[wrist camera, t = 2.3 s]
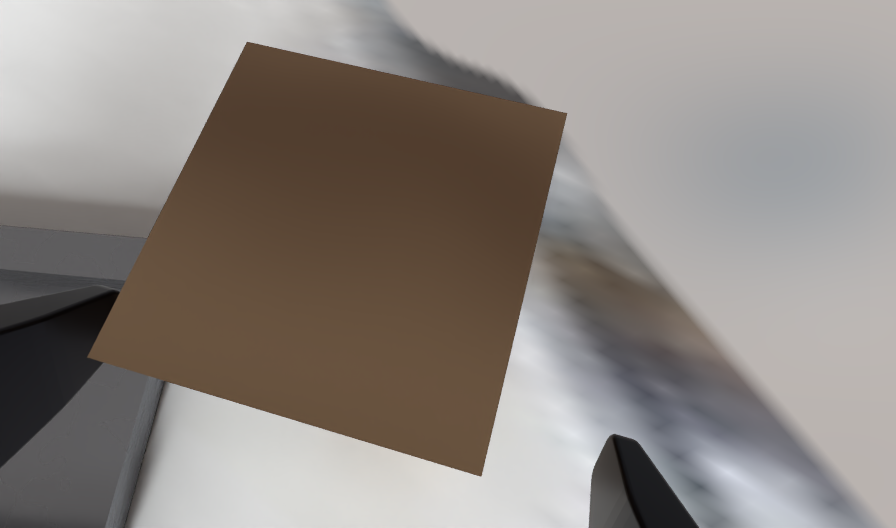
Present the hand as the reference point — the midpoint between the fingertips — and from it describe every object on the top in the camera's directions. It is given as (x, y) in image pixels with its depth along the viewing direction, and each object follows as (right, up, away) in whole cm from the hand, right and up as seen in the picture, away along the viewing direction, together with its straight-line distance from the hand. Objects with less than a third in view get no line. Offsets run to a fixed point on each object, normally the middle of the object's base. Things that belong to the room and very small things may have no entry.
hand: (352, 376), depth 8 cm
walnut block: (0, -1, +9) cm, 9 cm away
